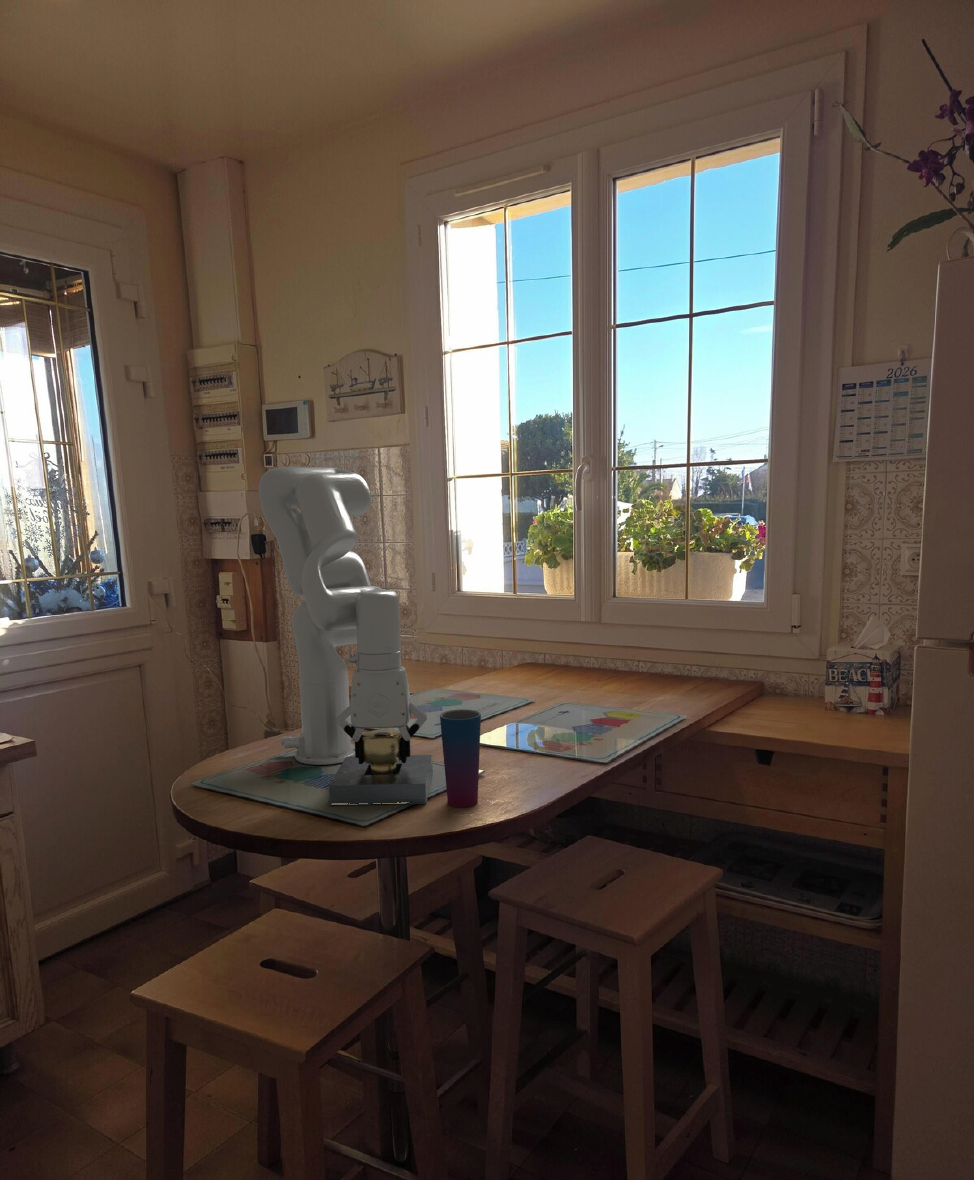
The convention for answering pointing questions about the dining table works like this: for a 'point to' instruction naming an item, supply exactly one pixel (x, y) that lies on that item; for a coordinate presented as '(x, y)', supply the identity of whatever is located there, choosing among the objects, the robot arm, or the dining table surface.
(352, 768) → the block
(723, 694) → the dining table surface
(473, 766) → the cup
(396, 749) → the bushing
